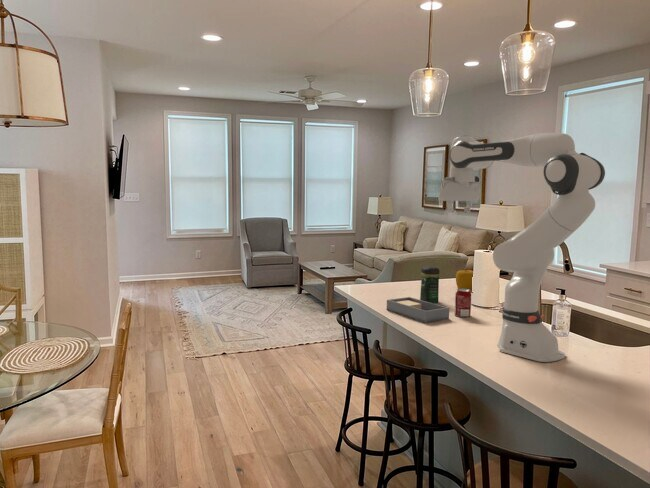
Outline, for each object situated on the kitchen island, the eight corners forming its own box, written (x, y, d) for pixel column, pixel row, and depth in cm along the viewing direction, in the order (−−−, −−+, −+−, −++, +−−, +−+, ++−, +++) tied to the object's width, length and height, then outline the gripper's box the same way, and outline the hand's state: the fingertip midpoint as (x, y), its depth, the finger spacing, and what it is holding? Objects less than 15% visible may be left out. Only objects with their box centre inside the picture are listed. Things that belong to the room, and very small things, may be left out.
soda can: (470, 318, 213) (472, 291, 212) (454, 317, 215) (456, 290, 214) (469, 315, 220) (470, 288, 219) (454, 314, 221) (455, 287, 220)
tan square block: (421, 310, 223) (421, 304, 223) (406, 312, 218) (406, 306, 218) (407, 306, 231) (408, 300, 230) (393, 308, 226) (393, 302, 226)
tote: (448, 319, 212) (449, 307, 211) (425, 323, 205) (426, 311, 204) (408, 307, 233) (409, 296, 233) (386, 310, 226) (386, 299, 226)
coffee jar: (440, 305, 239) (442, 267, 238) (425, 305, 238) (427, 267, 236) (432, 300, 249) (433, 264, 247) (417, 301, 247) (419, 264, 245)
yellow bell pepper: (462, 289, 280) (463, 267, 279) (479, 292, 273) (480, 269, 271) (451, 291, 273) (452, 269, 272) (468, 295, 265) (469, 271, 264)
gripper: (449, 176, 188) (447, 213, 189) (483, 178, 199) (481, 212, 200) (436, 177, 193) (435, 212, 194) (471, 178, 204) (469, 212, 206)
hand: (459, 212), depth 197 cm, fingers open, 8 cm apart
